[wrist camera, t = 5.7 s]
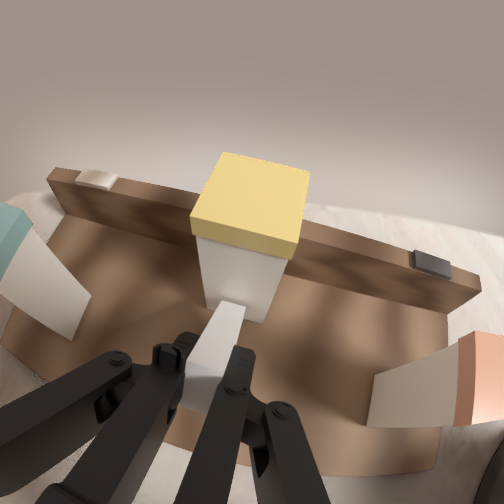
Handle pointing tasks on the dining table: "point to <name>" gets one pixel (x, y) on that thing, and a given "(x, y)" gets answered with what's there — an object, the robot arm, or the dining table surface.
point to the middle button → (247, 230)
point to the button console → (251, 333)
